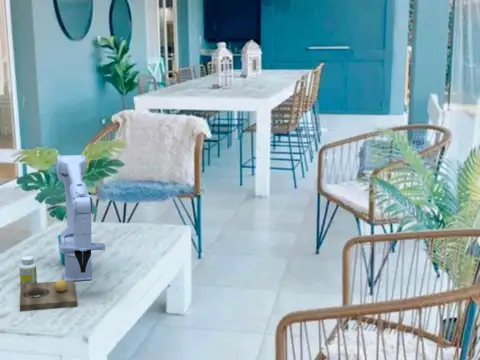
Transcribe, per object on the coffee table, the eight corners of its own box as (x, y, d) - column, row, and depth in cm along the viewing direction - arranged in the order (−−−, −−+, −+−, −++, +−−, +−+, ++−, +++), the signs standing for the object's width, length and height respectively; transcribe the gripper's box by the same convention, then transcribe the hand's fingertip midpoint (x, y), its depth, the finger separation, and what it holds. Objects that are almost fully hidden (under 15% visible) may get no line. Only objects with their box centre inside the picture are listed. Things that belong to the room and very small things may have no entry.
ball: (67, 288, 220) (67, 277, 219) (68, 293, 216) (67, 281, 215) (55, 289, 219) (54, 278, 218) (55, 294, 215) (55, 282, 214)
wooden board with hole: (73, 285, 227) (73, 280, 227) (77, 306, 211) (77, 300, 210) (20, 289, 222) (20, 284, 222) (19, 311, 206) (19, 305, 205)
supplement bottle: (31, 280, 230) (30, 254, 228) (39, 284, 227) (39, 257, 225) (17, 284, 226) (16, 257, 224) (26, 288, 223) (25, 261, 221)
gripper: (60, 237, 209) (60, 277, 212) (106, 235, 213) (106, 274, 216) (59, 230, 216) (59, 269, 219) (103, 228, 220) (104, 266, 223)
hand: (82, 271), depth 218 cm, fingers closed
